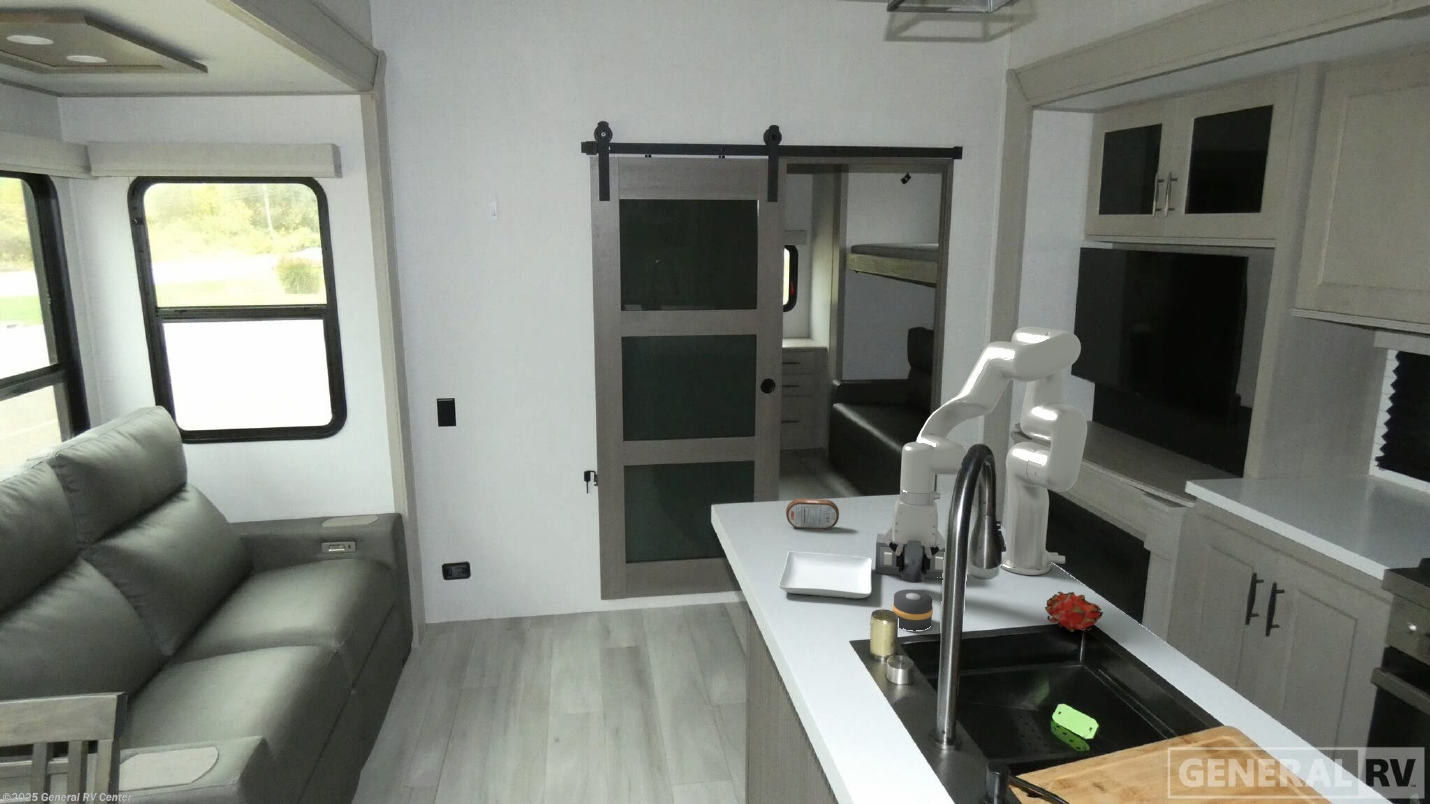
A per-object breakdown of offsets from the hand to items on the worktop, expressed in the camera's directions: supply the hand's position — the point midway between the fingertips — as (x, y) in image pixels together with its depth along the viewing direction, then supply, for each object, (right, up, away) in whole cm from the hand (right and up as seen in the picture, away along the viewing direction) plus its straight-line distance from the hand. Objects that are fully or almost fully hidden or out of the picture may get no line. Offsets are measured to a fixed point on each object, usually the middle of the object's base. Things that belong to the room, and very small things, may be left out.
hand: (912, 570), depth 187 cm
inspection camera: (0, -2, 0) cm, 2 cm away
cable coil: (-4, -8, -15) cm, 18 cm away
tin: (-18, +3, +42) cm, 46 cm away
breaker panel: (+3, -3, +11) cm, 12 cm away
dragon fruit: (+30, -9, -17) cm, 35 cm away
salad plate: (-19, -5, +6) cm, 21 cm away
